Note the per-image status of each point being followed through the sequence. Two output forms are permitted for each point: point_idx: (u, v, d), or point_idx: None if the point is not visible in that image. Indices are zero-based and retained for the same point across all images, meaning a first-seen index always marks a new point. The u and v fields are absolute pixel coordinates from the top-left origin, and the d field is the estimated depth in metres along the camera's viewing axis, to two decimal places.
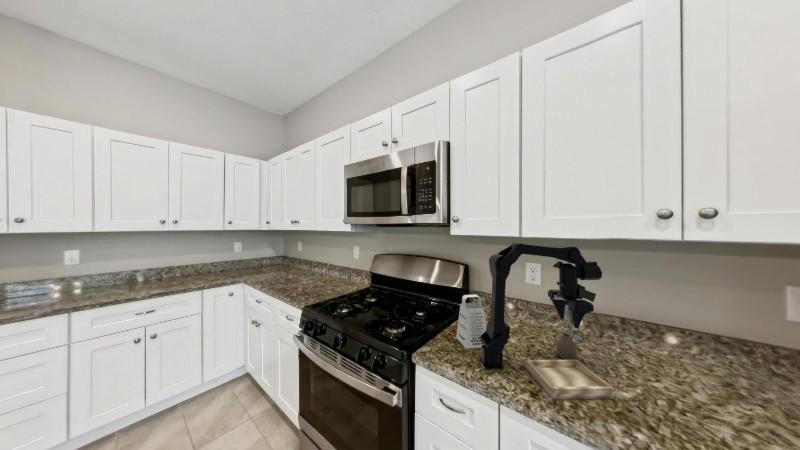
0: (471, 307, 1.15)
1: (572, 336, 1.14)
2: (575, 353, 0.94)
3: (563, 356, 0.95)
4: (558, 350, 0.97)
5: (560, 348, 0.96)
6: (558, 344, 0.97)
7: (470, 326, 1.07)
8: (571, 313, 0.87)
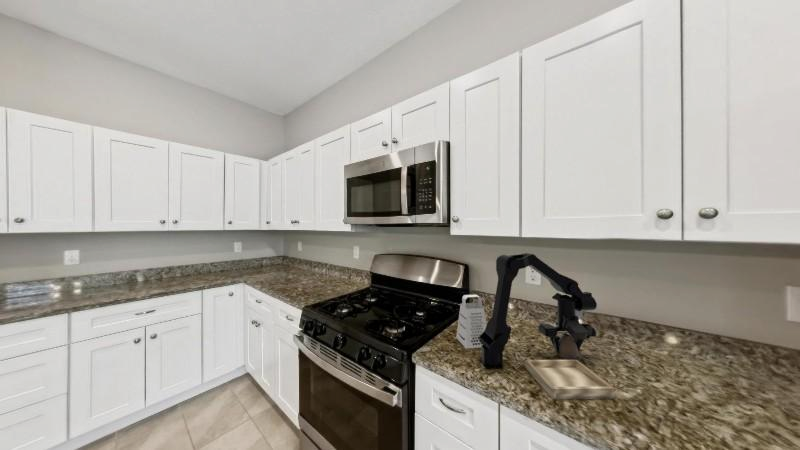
0: (471, 307, 1.15)
1: None
2: (575, 353, 0.94)
3: (563, 356, 0.95)
4: None
5: (560, 348, 0.96)
6: None
7: (470, 326, 1.07)
8: None
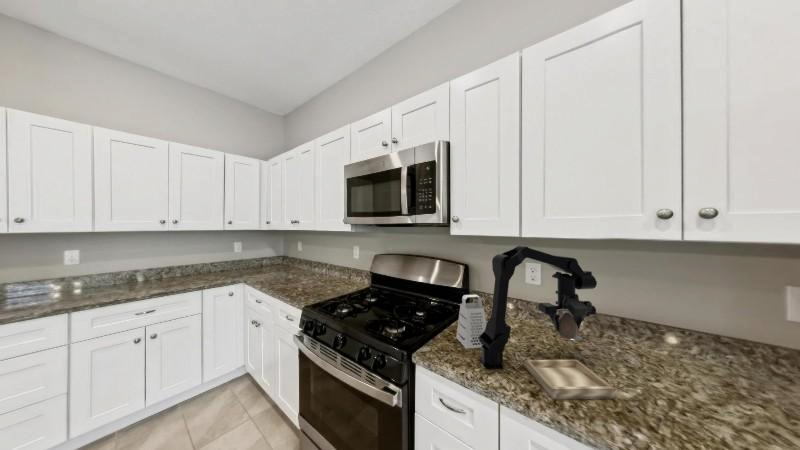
0: (471, 307, 1.15)
1: None
2: (575, 331, 0.94)
3: (563, 334, 0.95)
4: None
5: (560, 326, 0.96)
6: None
7: (470, 326, 1.07)
8: None
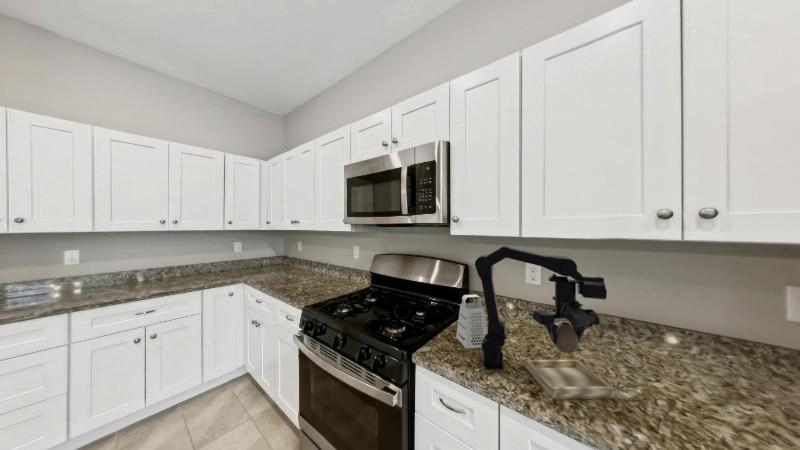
0: (471, 307, 1.15)
1: None
2: (575, 345, 0.80)
3: (561, 348, 0.82)
4: None
5: (558, 338, 0.82)
6: (556, 334, 0.83)
7: (470, 326, 1.07)
8: None
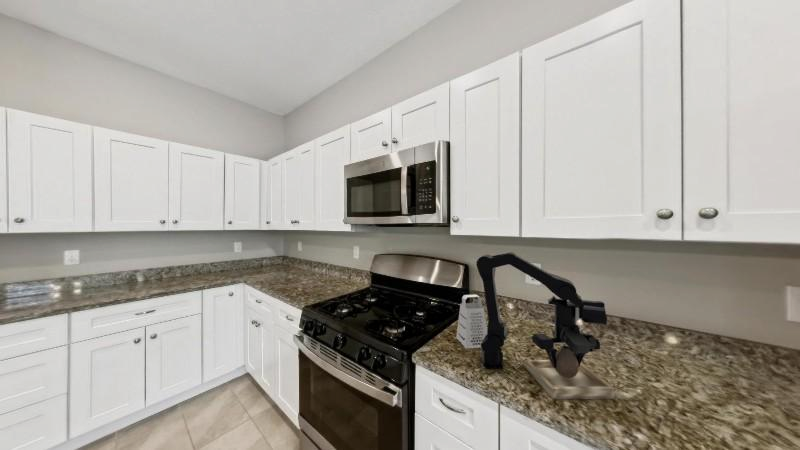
0: (471, 307, 1.15)
1: None
2: (575, 370, 0.79)
3: (561, 372, 0.80)
4: None
5: (558, 362, 0.81)
6: None
7: (470, 326, 1.07)
8: None
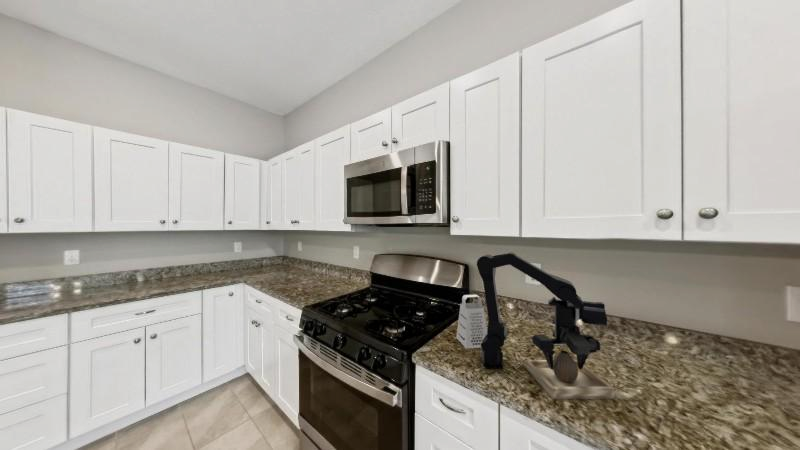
0: (471, 307, 1.15)
1: None
2: (575, 374, 0.79)
3: (561, 378, 0.80)
4: (555, 370, 0.82)
5: (557, 368, 0.81)
6: (555, 363, 0.82)
7: (470, 326, 1.07)
8: None
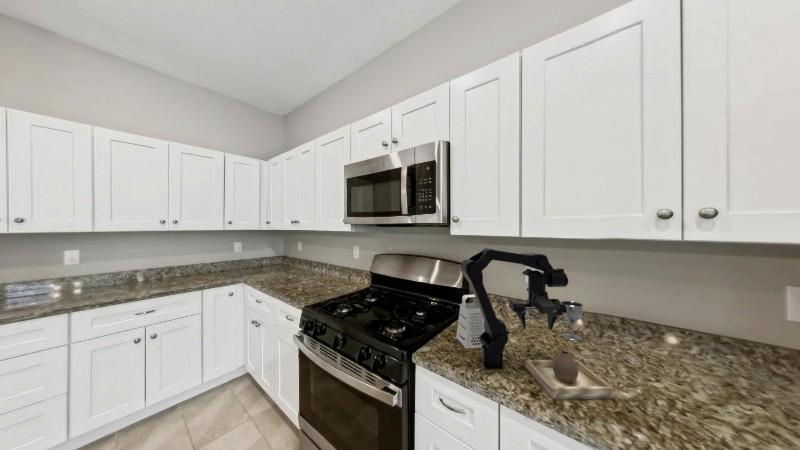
0: (471, 307, 1.15)
1: (572, 336, 1.14)
2: (575, 375, 0.79)
3: (561, 378, 0.80)
4: (555, 370, 0.82)
5: (557, 368, 0.81)
6: (555, 363, 0.82)
7: (470, 326, 1.07)
8: None
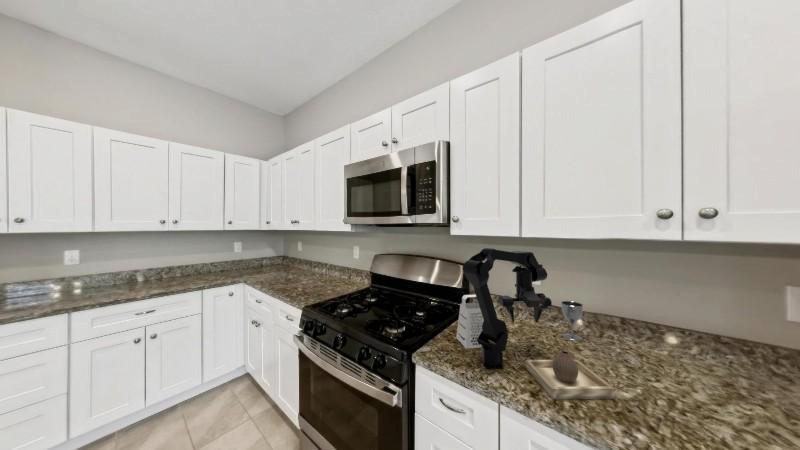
0: (471, 307, 1.15)
1: (572, 336, 1.14)
2: (575, 375, 0.79)
3: (561, 378, 0.80)
4: (555, 370, 0.82)
5: (557, 368, 0.81)
6: (555, 363, 0.82)
7: (470, 326, 1.07)
8: None
